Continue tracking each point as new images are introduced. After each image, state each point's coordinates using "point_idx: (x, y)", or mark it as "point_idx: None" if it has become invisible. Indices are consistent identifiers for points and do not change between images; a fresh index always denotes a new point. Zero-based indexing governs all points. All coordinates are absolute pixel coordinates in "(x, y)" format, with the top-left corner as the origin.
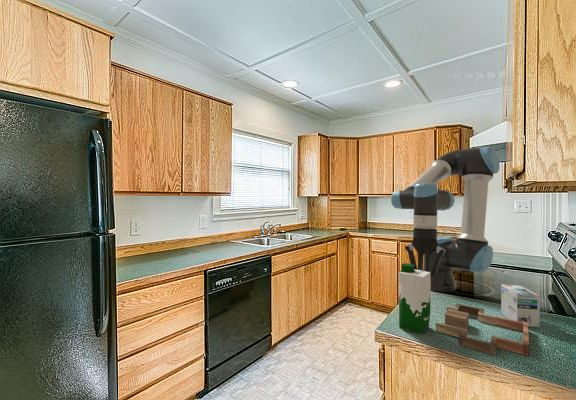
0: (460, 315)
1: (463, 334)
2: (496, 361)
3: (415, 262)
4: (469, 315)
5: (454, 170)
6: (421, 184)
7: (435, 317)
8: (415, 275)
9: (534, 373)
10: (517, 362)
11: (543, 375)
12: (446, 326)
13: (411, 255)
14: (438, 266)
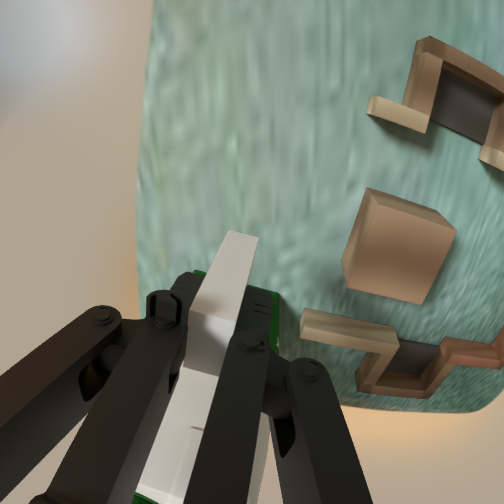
0: (412, 274)
1: (373, 378)
2: (411, 400)
3: (52, 393)
4: (461, 111)
5: None
6: None
7: (310, 181)
8: None
9: (455, 405)
10: (451, 387)
11: (465, 404)
12: (335, 344)
13: (7, 483)
14: (346, 469)
